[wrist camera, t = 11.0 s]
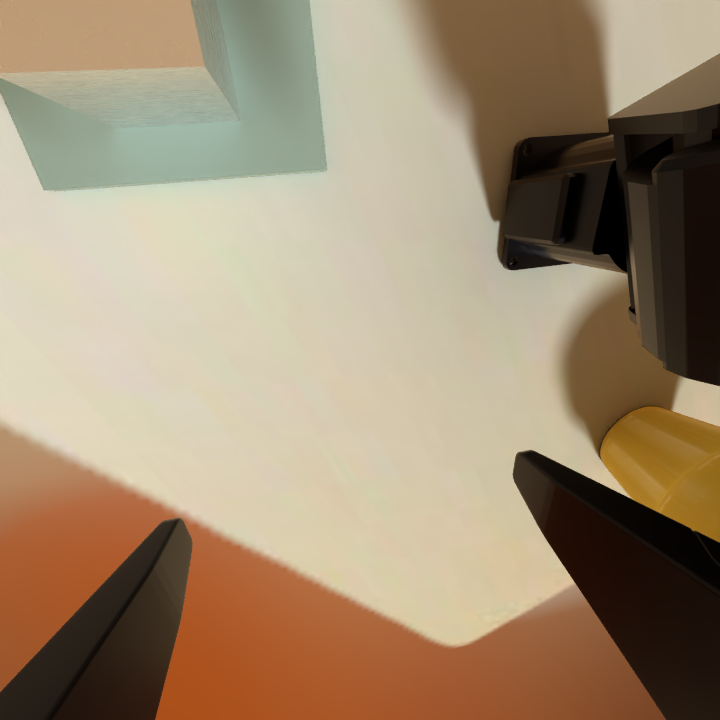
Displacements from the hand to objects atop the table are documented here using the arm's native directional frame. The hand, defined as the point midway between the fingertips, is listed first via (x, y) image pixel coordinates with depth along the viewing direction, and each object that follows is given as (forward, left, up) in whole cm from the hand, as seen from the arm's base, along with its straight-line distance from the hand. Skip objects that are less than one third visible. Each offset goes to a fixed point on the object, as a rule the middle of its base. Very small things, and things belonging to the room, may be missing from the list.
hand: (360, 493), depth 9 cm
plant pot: (-25, +13, -12) cm, 31 cm away
